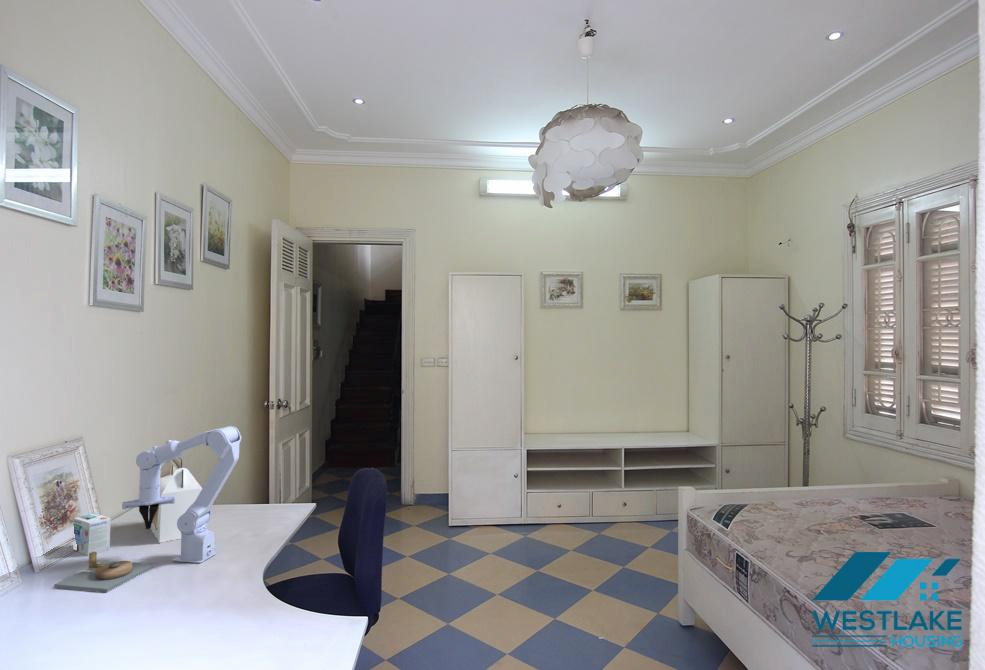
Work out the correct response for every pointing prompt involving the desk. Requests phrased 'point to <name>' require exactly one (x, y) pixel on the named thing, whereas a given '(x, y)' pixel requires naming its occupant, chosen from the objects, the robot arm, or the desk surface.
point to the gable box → (185, 492)
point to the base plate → (90, 583)
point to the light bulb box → (92, 533)
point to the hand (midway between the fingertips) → (148, 527)
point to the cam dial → (109, 568)
